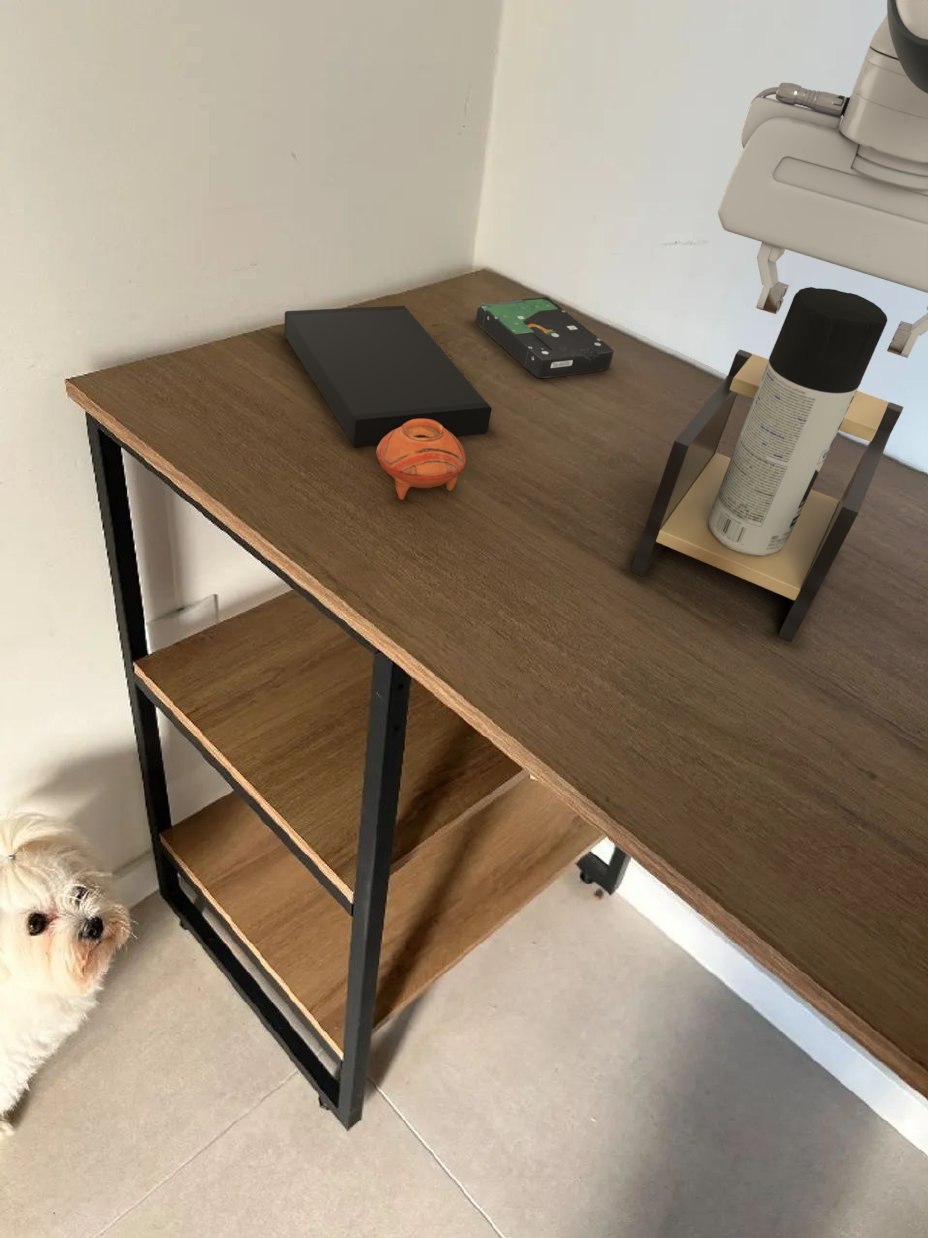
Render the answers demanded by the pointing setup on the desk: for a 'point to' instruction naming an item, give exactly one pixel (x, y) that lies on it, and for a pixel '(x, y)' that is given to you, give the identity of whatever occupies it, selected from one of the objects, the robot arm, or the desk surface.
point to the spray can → (795, 417)
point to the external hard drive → (383, 372)
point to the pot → (421, 456)
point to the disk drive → (544, 337)
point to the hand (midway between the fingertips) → (831, 330)
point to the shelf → (700, 475)
